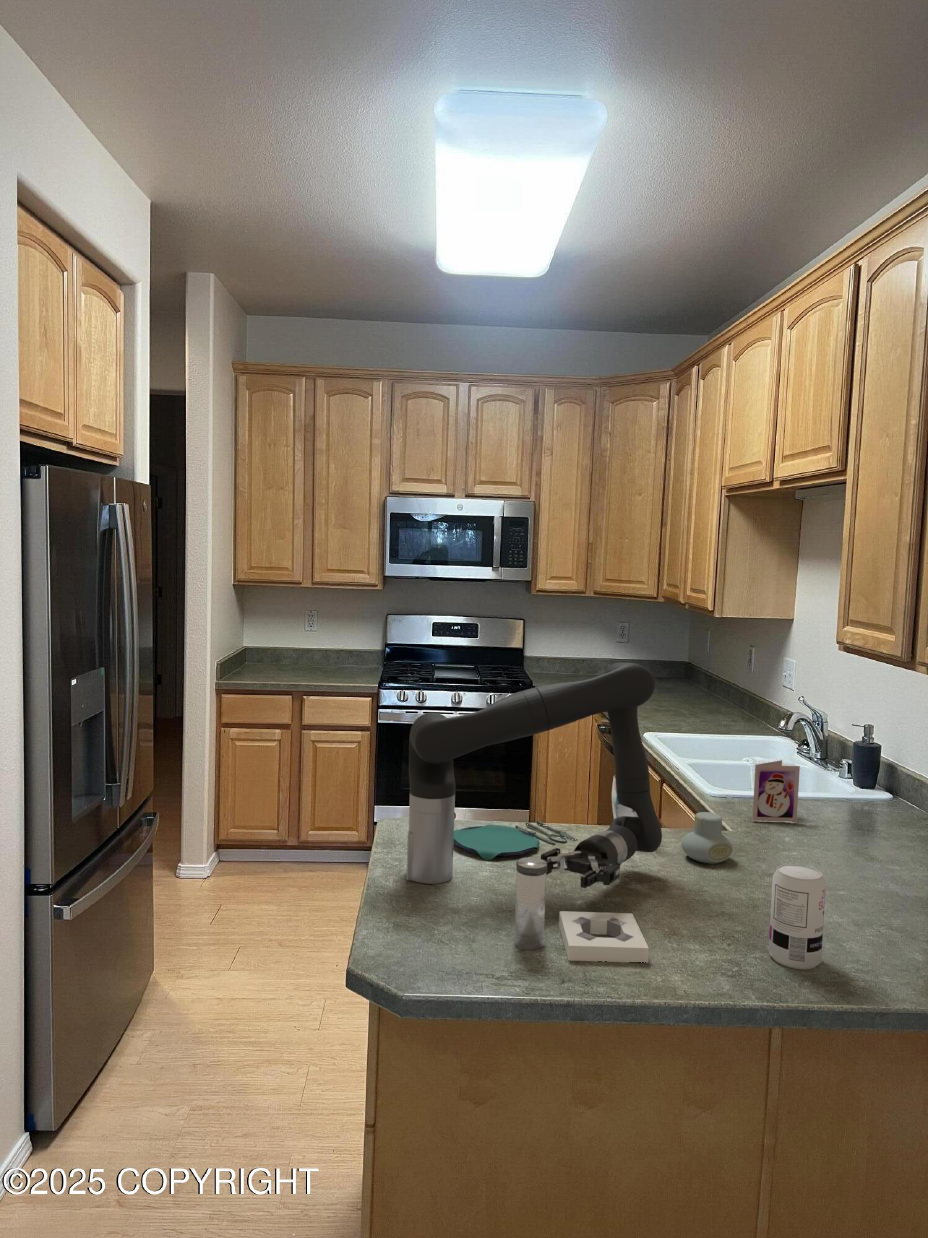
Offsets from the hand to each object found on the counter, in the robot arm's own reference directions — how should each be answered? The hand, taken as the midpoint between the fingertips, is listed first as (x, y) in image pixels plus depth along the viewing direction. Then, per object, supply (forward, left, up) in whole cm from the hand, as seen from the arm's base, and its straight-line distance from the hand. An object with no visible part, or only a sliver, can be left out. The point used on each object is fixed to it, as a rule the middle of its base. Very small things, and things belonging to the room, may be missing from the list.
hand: (561, 877), depth 155 cm
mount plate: (+6, -8, -9) cm, 13 cm away
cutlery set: (-6, +45, -9) cm, 46 cm away
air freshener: (+37, +37, -9) cm, 53 cm away
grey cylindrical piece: (-6, -9, -9) cm, 14 cm away
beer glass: (+21, +49, -9) cm, 54 cm away
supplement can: (+38, -12, -9) cm, 41 cm away
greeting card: (+63, +70, -9) cm, 95 cm away
